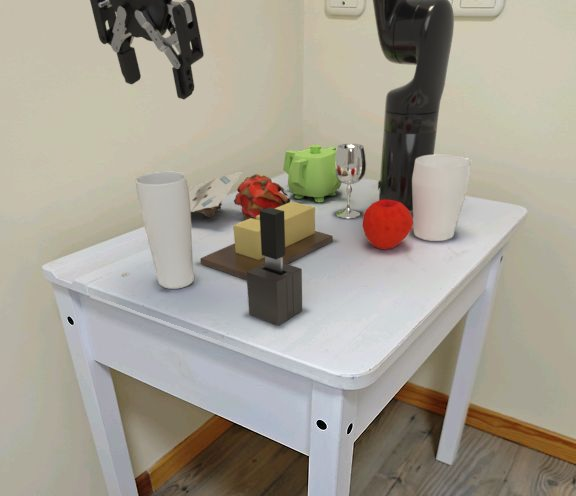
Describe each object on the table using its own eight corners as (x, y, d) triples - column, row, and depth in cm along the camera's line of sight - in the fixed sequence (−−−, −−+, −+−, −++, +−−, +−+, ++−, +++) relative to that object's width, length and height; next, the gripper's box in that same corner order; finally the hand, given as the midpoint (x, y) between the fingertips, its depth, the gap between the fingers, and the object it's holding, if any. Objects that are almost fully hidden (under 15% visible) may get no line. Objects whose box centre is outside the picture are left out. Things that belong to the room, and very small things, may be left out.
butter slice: (252, 245, 91) (250, 217, 89) (275, 252, 89) (274, 224, 86) (235, 252, 89) (233, 224, 86) (258, 260, 86) (257, 231, 83)
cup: (462, 228, 98) (474, 155, 91) (458, 246, 91) (470, 170, 84) (410, 223, 101) (418, 152, 94) (402, 241, 94) (409, 166, 87)
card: (197, 208, 114) (183, 186, 111) (256, 192, 106) (243, 168, 103) (170, 242, 108) (155, 220, 105) (231, 228, 99) (216, 204, 96)
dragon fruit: (242, 218, 109) (287, 242, 103) (215, 202, 102) (261, 226, 96) (263, 178, 107) (309, 199, 101) (236, 158, 100) (285, 180, 94)
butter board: (282, 227, 100) (282, 222, 100) (332, 241, 94) (332, 235, 94) (200, 264, 88) (200, 258, 87) (252, 282, 82) (252, 275, 81)
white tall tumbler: (178, 296, 79) (162, 187, 70) (143, 286, 82) (123, 180, 73) (209, 278, 83) (197, 174, 75) (174, 269, 86) (159, 168, 78)
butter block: (292, 227, 98) (291, 201, 95) (315, 233, 95) (315, 206, 92) (257, 242, 92) (255, 215, 89) (280, 249, 89) (279, 222, 87)
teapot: (293, 206, 110) (292, 154, 104) (281, 190, 119) (280, 141, 113) (351, 201, 112) (353, 149, 106) (335, 185, 121) (336, 137, 115)
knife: (272, 307, 75) (268, 207, 68) (287, 312, 74) (285, 211, 66) (264, 312, 74) (258, 211, 66) (278, 318, 73) (275, 215, 65)
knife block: (273, 300, 77) (272, 259, 74) (302, 310, 74) (302, 268, 71) (249, 314, 74) (246, 272, 70) (278, 325, 71) (276, 282, 68)
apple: (419, 244, 92) (424, 199, 88) (391, 259, 88) (395, 212, 83) (379, 233, 97) (382, 190, 92) (350, 247, 92) (352, 201, 88)
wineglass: (362, 220, 103) (365, 150, 96) (330, 218, 104) (332, 150, 97) (364, 210, 107) (368, 143, 100) (334, 208, 108) (336, 142, 101)
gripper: (201, -74, 57) (222, 88, 70) (99, -90, 62) (136, 65, 75) (154, -51, 54) (185, 115, 67) (49, -70, 58) (97, 89, 71)
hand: (159, 88), depth 71 cm, fingers open, 8 cm apart
